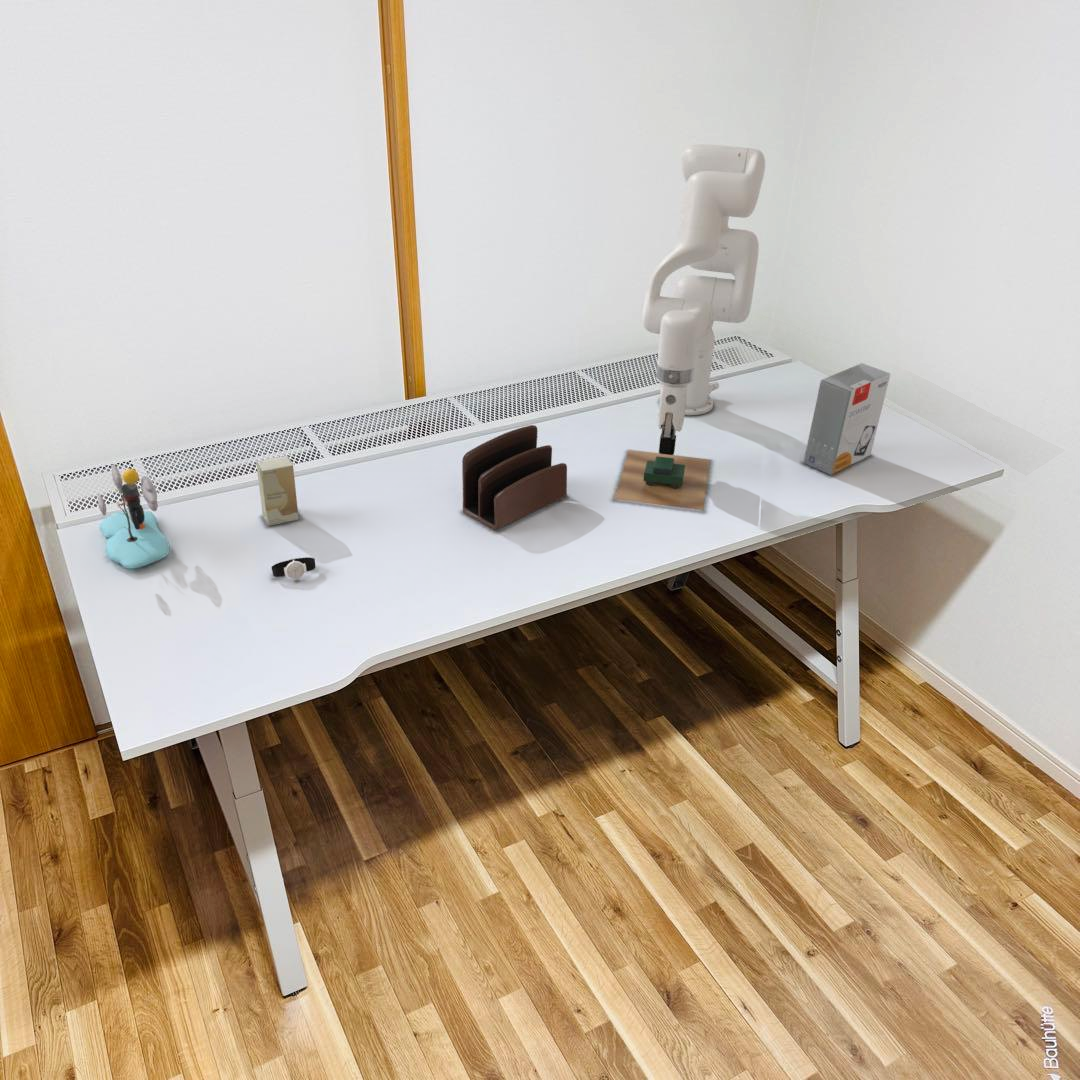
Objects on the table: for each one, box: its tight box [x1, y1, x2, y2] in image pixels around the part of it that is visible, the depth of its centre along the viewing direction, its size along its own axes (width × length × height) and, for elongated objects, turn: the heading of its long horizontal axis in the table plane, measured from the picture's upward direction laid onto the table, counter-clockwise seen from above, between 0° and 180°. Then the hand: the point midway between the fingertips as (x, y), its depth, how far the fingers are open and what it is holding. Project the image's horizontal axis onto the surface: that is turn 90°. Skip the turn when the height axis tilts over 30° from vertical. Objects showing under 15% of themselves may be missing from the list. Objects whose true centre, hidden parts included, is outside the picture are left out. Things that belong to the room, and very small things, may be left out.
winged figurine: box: [97, 463, 170, 570], centre depth 179 cm, size 20×11×15 cm, turn 28°
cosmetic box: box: [255, 455, 300, 526], centre depth 189 cm, size 6×4×12 cm
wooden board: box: [613, 449, 711, 512], centre depth 208 cm, size 22×18×1 cm
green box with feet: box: [643, 456, 685, 489], centre depth 206 cm, size 8×4×6 cm
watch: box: [271, 556, 316, 580], centre depth 176 cm, size 8×5×4 cm, turn 114°
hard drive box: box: [803, 362, 891, 476], centre depth 213 cm, size 16×8×20 cm, turn 131°
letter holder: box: [461, 424, 568, 531], centre depth 195 cm, size 10×20×14 cm, turn 134°
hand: (666, 452), depth 210 cm, fingers closed
